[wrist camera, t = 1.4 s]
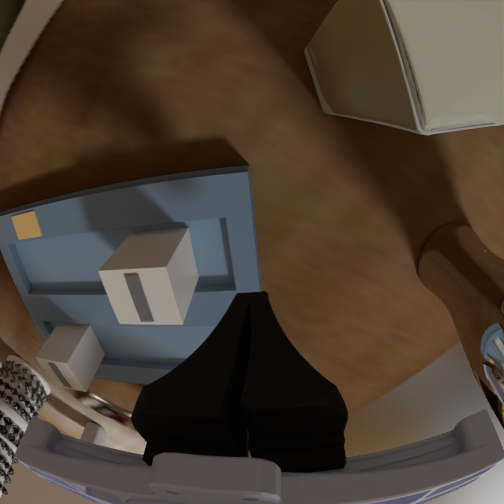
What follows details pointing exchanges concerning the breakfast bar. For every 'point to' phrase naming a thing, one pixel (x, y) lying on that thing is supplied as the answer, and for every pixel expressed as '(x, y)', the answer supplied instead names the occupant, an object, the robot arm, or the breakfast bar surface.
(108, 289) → the white striped block
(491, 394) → the beer glass
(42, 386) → the decorative candle
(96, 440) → the white rounded block
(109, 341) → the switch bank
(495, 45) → the skincare box
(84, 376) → the white block
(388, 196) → the breakfast bar surface
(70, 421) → the breakfast bar surface
